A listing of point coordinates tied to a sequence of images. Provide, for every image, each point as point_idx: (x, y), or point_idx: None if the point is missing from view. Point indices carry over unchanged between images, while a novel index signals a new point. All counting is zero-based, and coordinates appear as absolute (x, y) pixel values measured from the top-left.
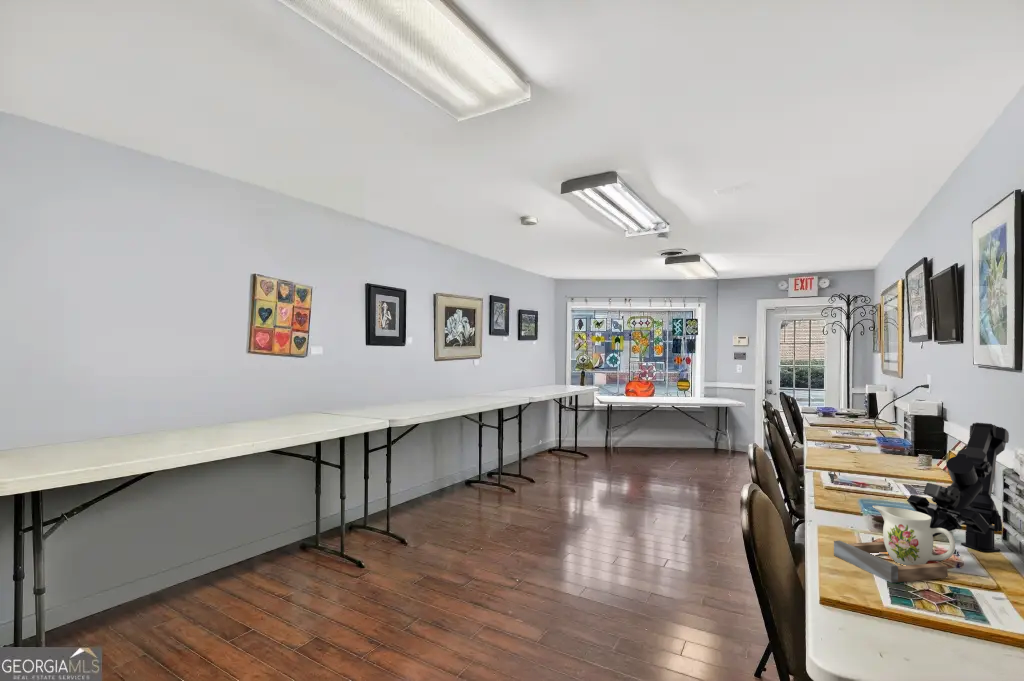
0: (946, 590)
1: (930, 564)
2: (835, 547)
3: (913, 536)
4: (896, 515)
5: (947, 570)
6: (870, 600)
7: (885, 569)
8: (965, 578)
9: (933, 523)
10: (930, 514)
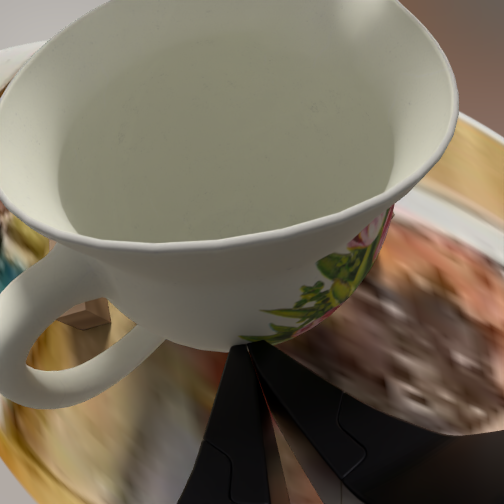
0: (11, 247)
1: None
2: None
3: (90, 135)
4: (394, 91)
5: (65, 322)
6: None
7: None
8: (85, 406)
9: (303, 443)
10: (438, 461)
